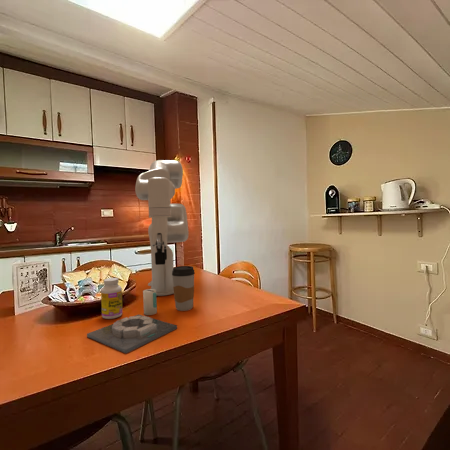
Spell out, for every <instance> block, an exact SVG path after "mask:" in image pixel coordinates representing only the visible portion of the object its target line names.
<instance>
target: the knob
mask: <svg viewBox="0 0 450 450" xmlns="http://www.w3.org/2000/svg"><path fill="white" fill-rule="evenodd" d="M142 295H143V296H142V298H143V301H142V303H143V316H152V315H155V314H158V310H157V308H158V306H157V300H158V299H157V296H156V289H151V288H147V289H144V290H142Z"/></svg>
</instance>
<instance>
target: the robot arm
mask: <svg viewBox="0 0 450 450" xmlns="http://www.w3.org/2000/svg"><path fill="white" fill-rule="evenodd" d="M183 176H184V169H183V165H182V163H181V162H180V161H178V160H174V159H171V160H170V159H165V160H164V159H158V160H154V161H152V163H151V164H150V167H149V170H148V171H145V172H142V173H140V174H139V175H138V176H137V178H136V182H135V194H136V195H135V196H136V197H137V198H138V200H141V201H147V202H148V203H147V204H148V218H149V219H150V218H151V223H150V224H149V226H148V229H147V230H148V231H147V232H148V239H149V245H150V255H151V256H150V258H151V281H150V282H148V284H147V286H148V287H150V289H156V297H157V296H158V297H162V296H163V297H165V296H170V295H174V288H173V276H172V271H173V268H174V253H173V250H172V248H170V246H169V245H168V244H169V243H172V244H173V243H185V242H186V241H187V240H188V239H189V222H188V213H187V209H186V206H185V205H184V204H181V203H171V200H172V199H173V197H174V196H175V195H176V189H180V188H181V186H182V184H183V178H184V177H183Z"/></svg>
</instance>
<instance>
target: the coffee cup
mask: <svg viewBox="0 0 450 450" xmlns="http://www.w3.org/2000/svg"><path fill="white" fill-rule="evenodd" d="M172 276H173V288H174V294H173V296H174V297H173V298H174V302H175V303H174V304H175V306H174V307H175V309H176V310H177V311H180V312H183V311H185V312H186V311H190V310H193V307H194V296H195V269H194V266H190V265H179V266H175V267H174V266H173V271H172Z"/></svg>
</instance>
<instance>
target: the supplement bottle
mask: <svg viewBox="0 0 450 450" xmlns="http://www.w3.org/2000/svg"><path fill="white" fill-rule="evenodd" d="M103 284H104V286H103V287H102V288H101V289H100V296H101V297H100V301H101V302H100V303H101V317H102V319H106V320H113V319H116V318H117V319H118V318H119V317H121V316H122V315H123V289H122V286H121V285H119V278H118V277H108V278H104V279H103Z"/></svg>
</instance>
